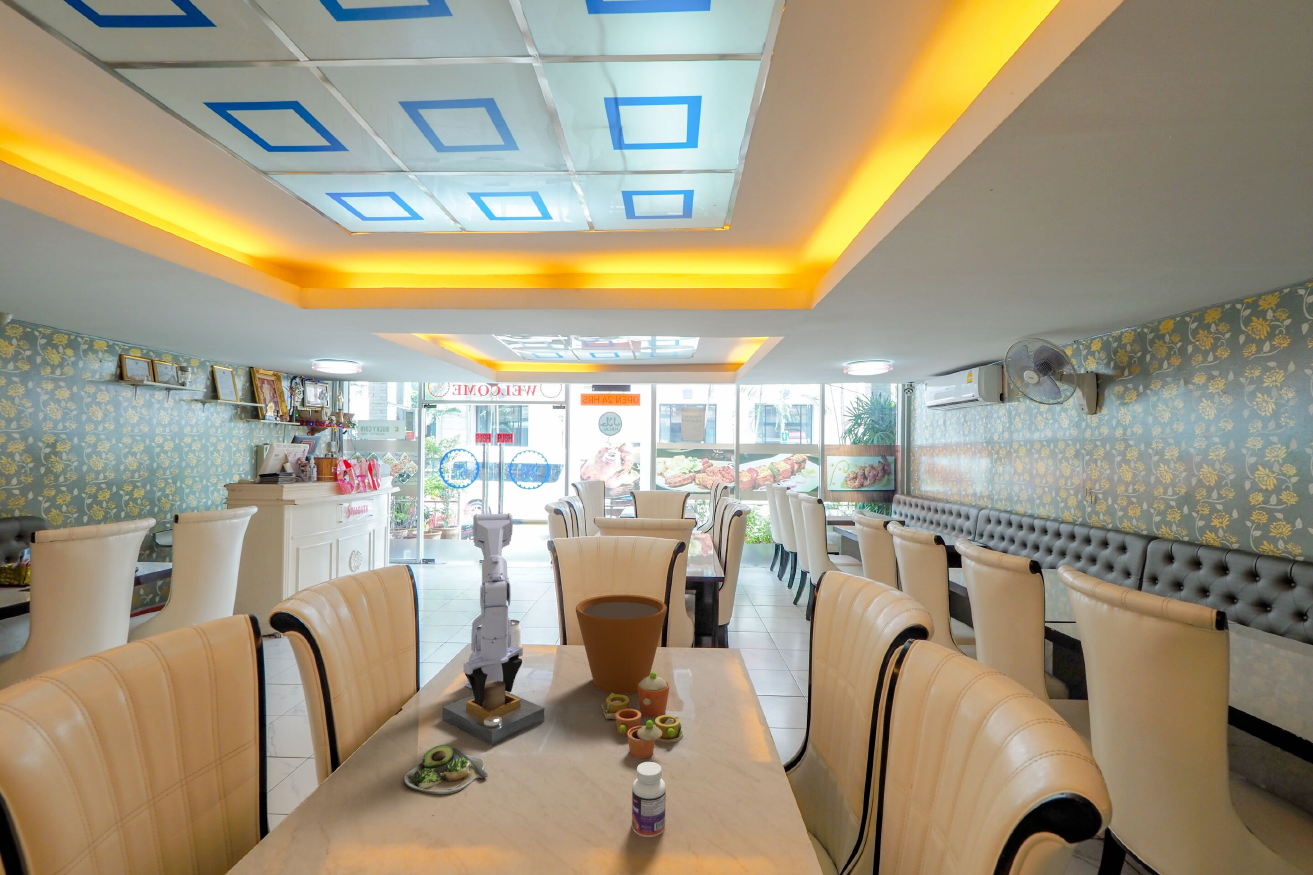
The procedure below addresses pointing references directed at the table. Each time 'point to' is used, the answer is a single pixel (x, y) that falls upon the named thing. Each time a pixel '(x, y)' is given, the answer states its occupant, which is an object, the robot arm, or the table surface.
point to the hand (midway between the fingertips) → (493, 696)
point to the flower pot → (620, 639)
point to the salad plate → (444, 770)
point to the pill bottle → (648, 800)
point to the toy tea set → (651, 705)
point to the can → (515, 634)
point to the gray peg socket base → (493, 718)
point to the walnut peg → (494, 695)
